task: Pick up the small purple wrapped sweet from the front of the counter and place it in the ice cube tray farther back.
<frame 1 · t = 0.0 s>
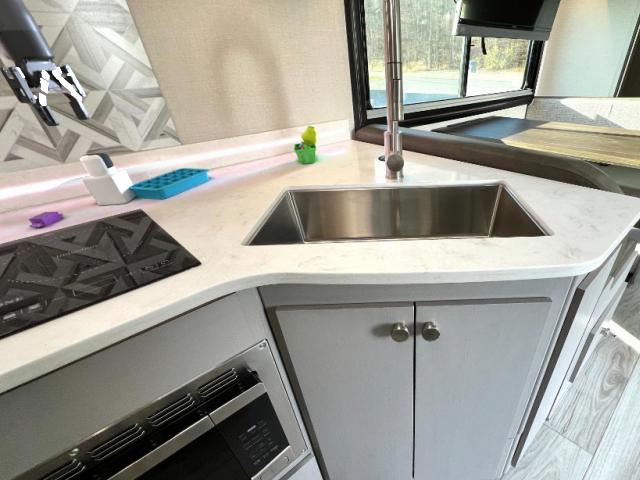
hand: (69, 122, 72), 20 cm above the worktop, tool pointing down, fingers open, 8 cm apart
ice cube tray: (175, 188, 95), on the worktop, touching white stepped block
candy: (50, 225, 75), on the worktop
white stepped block: (119, 201, 88), on the worktop, touching ice cube tray
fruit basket: (309, 161, 117), on the worktop
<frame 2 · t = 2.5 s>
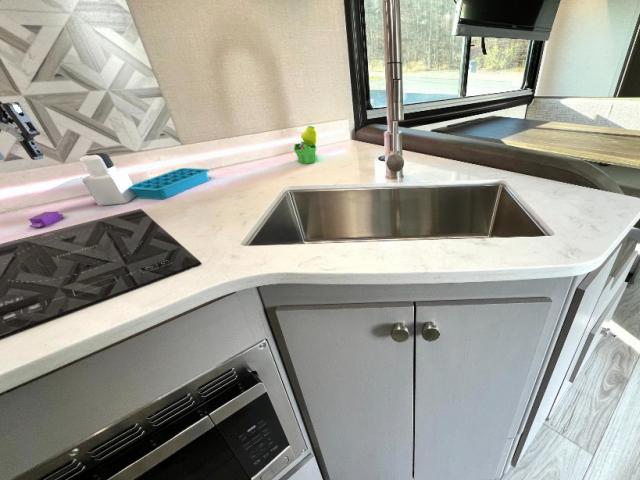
hand: (18, 159, 68), 14 cm above the worktop, tool pointing down, fingers open, 8 cm apart
nothing on the worktop moved.
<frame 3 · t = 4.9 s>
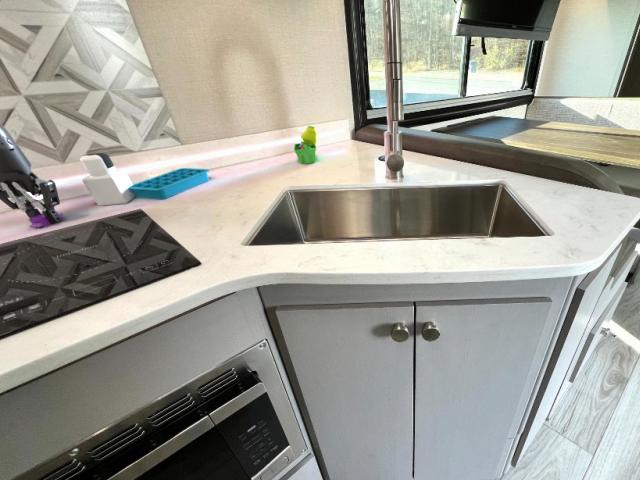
hand: (50, 224, 75), 0 cm above the worktop, tool pointing down, fingers closed on candy, 3 cm apart
candy: (50, 225, 75), on the worktop, touching gripper
everything else where it was.
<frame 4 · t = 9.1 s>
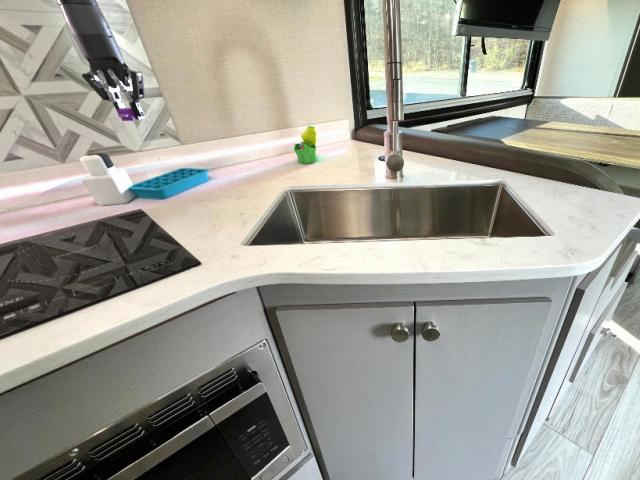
hand: (133, 118, 82), 19 cm above the worktop, tool pointing down, fingers closed on candy, 3 cm apart
candy: (133, 119, 82), point 19 cm above the worktop, touching gripper
everything else where it was.
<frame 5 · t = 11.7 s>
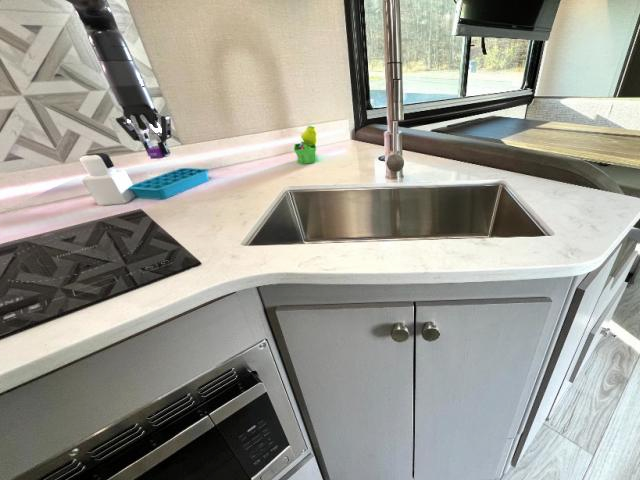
hand: (160, 156, 90), 9 cm above the worktop, tool pointing down, fingers closed on candy, 3 cm apart
candy: (160, 156, 90), point 9 cm above the worktop, touching gripper
everything else where it was.
when the fingers open (3 cm above the worktop, at t = 13.6 s): candy stays where it is, resting on ice cube tray.
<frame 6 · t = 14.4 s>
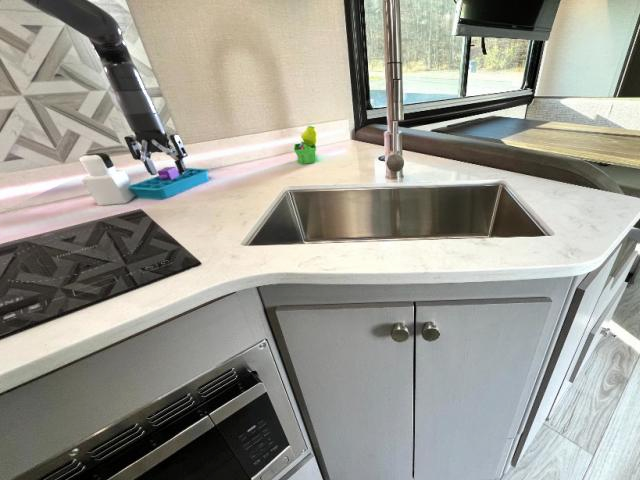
hand: (169, 174, 93), 4 cm above the worktop, tool pointing down, fingers open, 8 cm apart
ice cube tray: (175, 188, 95), on the worktop, touching candy, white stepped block
candy: (170, 177, 93), point 3 cm above the worktop, touching ice cube tray
everything else where it was.
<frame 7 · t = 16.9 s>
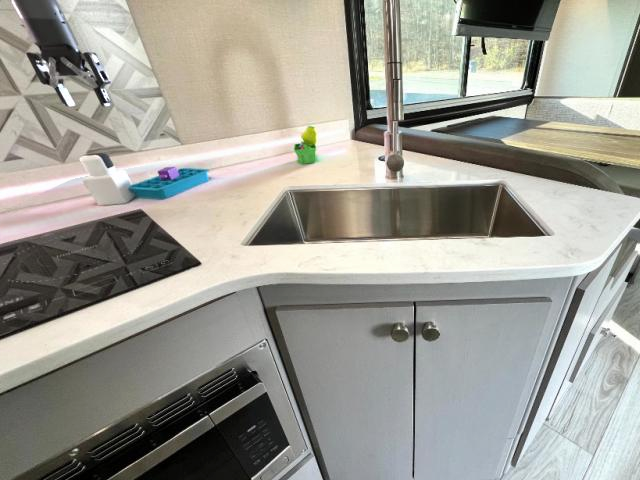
hand: (88, 106, 77), 22 cm above the worktop, tool pointing down, fingers open, 8 cm apart
nothing on the worktop moved.
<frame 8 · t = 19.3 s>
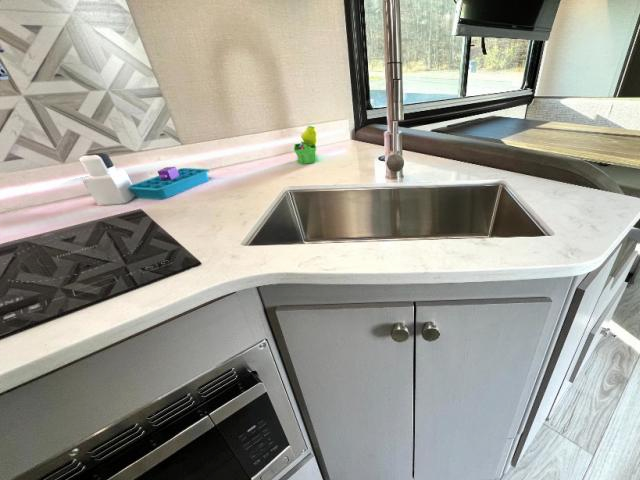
nothing on the worktop moved.
at the end: candy inside the target area on the ice cube tray (0.1 cm from its centre), point 3.2 cm above the ice cube tray's base; the gripper is holding nothing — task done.
